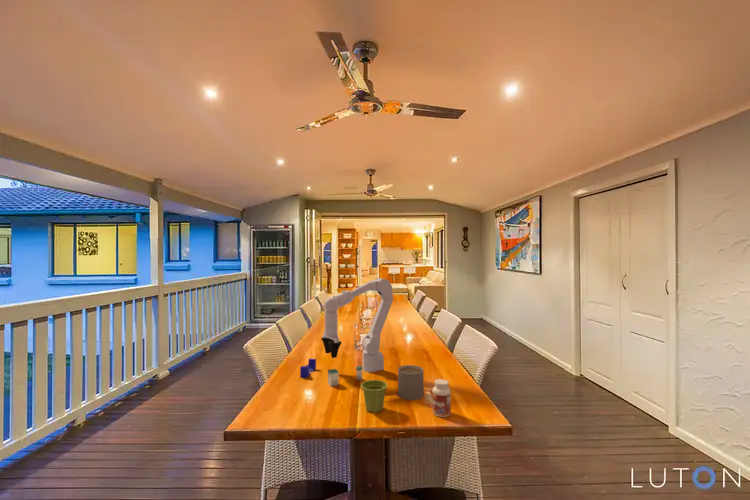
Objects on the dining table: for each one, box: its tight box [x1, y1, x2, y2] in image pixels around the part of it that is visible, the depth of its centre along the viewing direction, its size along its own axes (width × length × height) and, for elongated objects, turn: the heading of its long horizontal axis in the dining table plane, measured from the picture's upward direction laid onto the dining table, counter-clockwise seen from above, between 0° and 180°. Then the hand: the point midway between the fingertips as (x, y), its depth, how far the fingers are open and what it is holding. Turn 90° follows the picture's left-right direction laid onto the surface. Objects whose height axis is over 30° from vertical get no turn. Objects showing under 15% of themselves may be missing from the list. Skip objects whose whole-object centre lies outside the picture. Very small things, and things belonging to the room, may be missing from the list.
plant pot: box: [360, 379, 388, 413], centre depth 123 cm, size 9×9×9 cm
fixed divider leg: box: [355, 365, 363, 381], centre depth 148 cm, size 3×3×6 cm
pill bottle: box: [432, 378, 452, 418], centre depth 119 cm, size 6×6×11 cm
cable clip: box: [299, 358, 317, 379], centre depth 156 cm, size 12×4×6 cm, turn 171°
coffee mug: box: [397, 364, 424, 401], centre depth 137 cm, size 13×10×10 cm
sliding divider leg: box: [327, 368, 339, 387], centre depth 142 cm, size 3×4×6 cm
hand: (331, 355), depth 155 cm, fingers open, 7 cm apart
